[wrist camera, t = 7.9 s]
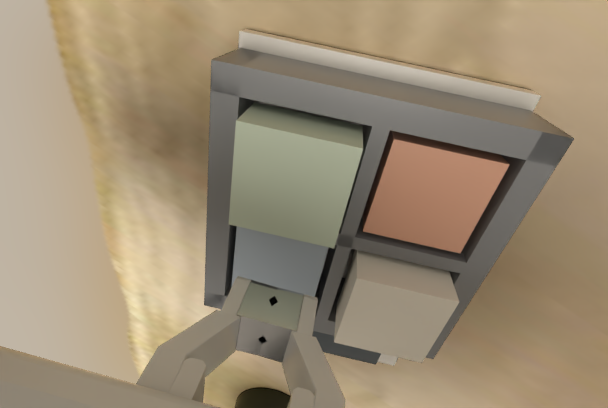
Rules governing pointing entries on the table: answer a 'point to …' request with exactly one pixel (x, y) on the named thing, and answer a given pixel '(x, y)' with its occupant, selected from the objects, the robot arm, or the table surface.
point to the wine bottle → (262, 399)
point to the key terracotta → (431, 191)
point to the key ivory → (393, 306)
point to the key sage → (293, 173)
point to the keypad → (377, 156)
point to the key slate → (278, 261)
